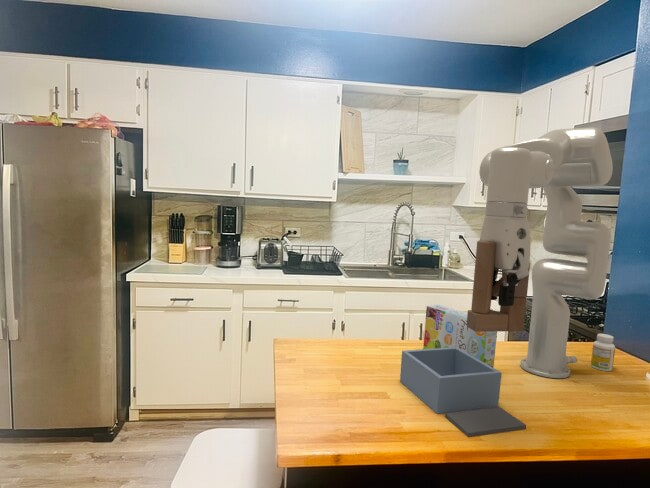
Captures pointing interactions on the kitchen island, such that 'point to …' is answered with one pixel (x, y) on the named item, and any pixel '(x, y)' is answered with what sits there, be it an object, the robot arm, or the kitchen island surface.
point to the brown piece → (480, 311)
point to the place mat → (484, 421)
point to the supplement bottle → (603, 353)
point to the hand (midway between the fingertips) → (497, 301)
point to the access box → (450, 379)
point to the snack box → (457, 334)
